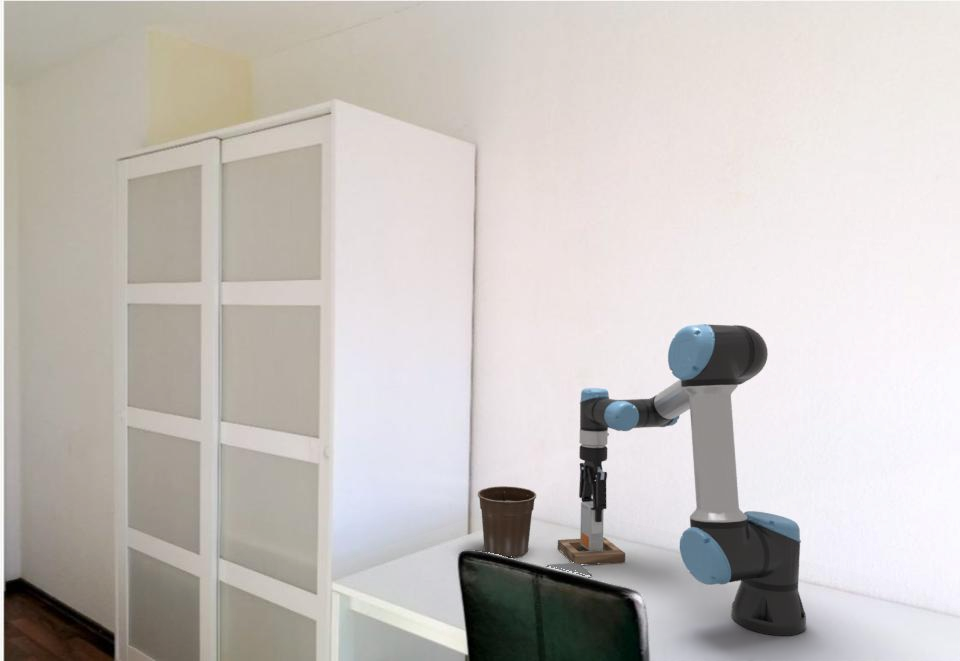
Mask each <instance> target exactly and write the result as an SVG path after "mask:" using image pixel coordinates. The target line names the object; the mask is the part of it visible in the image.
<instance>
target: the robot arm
mask: <svg viewBox="0 0 960 661" xmlns="http://www.w3.org/2000/svg"><path fill="white" fill-rule="evenodd" d="M667 352H668V353H667V354H668V355H667V362H668V367H669V370H670V371H671V373H672V375H673V377H675V378H677V379H678V380H677V381H675V382H674V383H672V384H671V385H670V386H668V387H666V388H664V389H663V390H662V391H660V392H659V393H658V394H656V395H654V396H652V397H650V398H637V399H636V398H635V399H634V398H633V399H615V398H614V399H613V398H610V396H609V391H608V390H607V389H605V388H601V387H600V388H598V387H597V388H596V387H592V388H591V387H590V388H589V387H588V388H584V389H582V390H581V392H580V402H579V405H580V406H579V413H580V414H579V444H580V446H579V459H580V460H582V461H584V462H580V463H579V472H580V474H579V486H578V487H579V490H578V498H579V499H581V502H590V501H593V508H591V510H592V528H591V533H592V534H600V533H602V510H603V509H604V510H607V479H608V472H607V471H603V466H602V463H603V462H606V461H607V460H608V447H607V445H608V438H609V435H610V433H609V429H612V430H615V431H618V432H620V431H621V432H629V431H631V430H632V429H642V428H665V427H670V426H674V425H676V424H677V423H678V420H679V419H680V415H682V414H684V413H686V412H688V411H690V413H689V414H690V427H691V428H690V430H691V441H692V442H691V444H692V457H693V460H692V461H693V473H694V474H693V475H694V490H695V501H696V502H695V503H696V507H695V510H694V511H693V512H692V513H691V514H690V515H689V521H690V522H689V523H690V524H689V527H688V528H686V529H685V530H684V531H683V532H682V533H681V534H682V535H681V536H680V539H679V552H680V556H681V558H682V562H683V564H684V566H685V567H686V570H688V571H689V573H690V574H691V575H690V576H692V577H693V578H694V579H695V580H696V581H697V582H700V583H702V584H704V585H708V586H709V585H711V586H712V585H726V584H729V583H735V582H739V581H740V583H739V586H738V588H737V590H736V594H735V596H734V600H733V602H732V603H731V614H730V615H731V617H732V618H731V619H733V621H734V622H736V623H737V624H738V625H740V626H741V627H744V628H746V629H748V630H751V631H754V632H757V633H761V634H765V635H771V636H795V635H799V634H801V633H803V632H804V631H805V630H806V627H807V617H806V616H807V614H806V613H805V609H804V605H803V601H802V599H801V595H800V592H799V575H800V574H799V573H800V554H801V553H800V552H801V542H802V540H801V537H800V536H801V535H800V534H801V533H800V532H801V531H800V526H799V525H798V523H797V522H796V521H795V520H793V519H790V518H787V517H785V516H782V515H779V514H778V515H777V514H773V513H768V512H764V511H755V510H754V511H753V510H748V511H745V512H743V511H742V510H741V509H740V505H739V493H738V492H739V491H738V477H737V474H738V473H737V463H736V462H737V461H736V450H735V449H736V447H735V434H734V433H735V432H734V421H733V420H734V418H733V406H732V395H733V394H732V393H733V392H734V391H735V390H736V389H737V388H738V386H739V385H742V384H744V383H746V382H747V381H749V380H751V379H753V378H754V377H755V376H758V374H760V373H761V371H763V369H764V368H765V366H766V363H767V362H768V355H769V354H768V347H767V344H766V342H765V339H764V337H762V335H761V334H760V333H759V332H757V331H756V330H755V329H754V328H751V327H748V326H745V325H738V324H737V325H736V324H735V325H732V324H730V325H729V324H728V325H727V324H726V325H725V324H705V323H704V324H693V325H686V326H684V327H683V328H680V329H679V330H678V331H677V332H676V334H675V335H674V337H673V338H672V340H671V342H670V344H669V347H668V351H667Z"/></svg>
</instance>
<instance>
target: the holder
mask: <svg viewBox="0 0 960 661" xmlns="http://www.w3.org/2000/svg"><path fill="white" fill-rule="evenodd" d="M557 549H558V550H559V549H560V550H561V551H562V552H563V553H564V554H565V555H566V556H567V557H568V558H569V559H570V560H571V561H572V562H574V563H580V564H596V565H599V564H598V563H611V564H622V563H621V562H625V563H626V552H624V551H623V550H622V549H621V548H619V547H618V546H616V545H615V544H614V543H612V542H611V541H610V540H609V539H608V538H606V537H605V536H603V550H597V551H583V550H588V549H586V548H585V547H583V546H582V545H580V538H572V539H571V538H567V539H558V540H557ZM560 550H559V551H560ZM561 551H560V552H561ZM562 552H561V553H562ZM563 553H562V554H563ZM564 554H563V555H564ZM565 555H564V556H565ZM566 556H565V557H566ZM567 557H566V558H567ZM568 558H567V559H568ZM569 559H568V560H569ZM570 560H569V561H570ZM571 561H570V562H571ZM572 562H571V563H572ZM619 562H620V563H619Z"/></svg>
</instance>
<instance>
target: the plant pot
mask: <svg viewBox="0 0 960 661" xmlns="http://www.w3.org/2000/svg"><path fill="white" fill-rule="evenodd" d="M477 497H478V498H479V508H480V510H481V520H482V521H481V523H482V533H483V536H482V537H483V549H484V552H485V553H486V552H490V553H494V554H499V555H502V556H506V558H507V557H511V556H512V557H511V558H513V559H514V558H517V557H518V556H520V557H522V555H523V556H524V555H525V556H526V554H527V553H528V552H529V542H530V535H531V534H530V533H531V524H532V514H533V511H534V509H535V508H534V506H535V499H537V493H536V492H535V491H533V490H531V489H528V488H525V487H517V486H505V485H504V486H503V485H502V486H501V485H500V486H491V487H487V488H482V489H480V490H479V491H478V492H477Z"/></svg>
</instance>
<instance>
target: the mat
mask: <svg viewBox="0 0 960 661" xmlns="http://www.w3.org/2000/svg"><path fill="white" fill-rule="evenodd" d="M546 565H547V566H546ZM546 565H545V568H547V567H549V566H551V568H554V567H555V569H559V570H562V571H566V570H569V571H572V573H574V572H578V573H576V574H579V575H582V576H585V575H590V576H592V575H593V574H592V573H591V572H590V571H588V570H587V568H585V567H584V565H581V564H580V563H572V562H568V563H567V562H566V563H555V564H546ZM556 567H557V568H556ZM561 568H562V569H561ZM563 569H565V570H563ZM575 570H576V571H575ZM569 571H567V572H569ZM580 573H582V574H580ZM583 574H585V575H583ZM592 577H593V576H592Z"/></svg>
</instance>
